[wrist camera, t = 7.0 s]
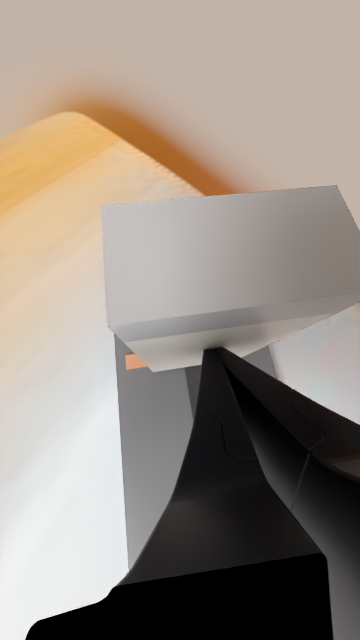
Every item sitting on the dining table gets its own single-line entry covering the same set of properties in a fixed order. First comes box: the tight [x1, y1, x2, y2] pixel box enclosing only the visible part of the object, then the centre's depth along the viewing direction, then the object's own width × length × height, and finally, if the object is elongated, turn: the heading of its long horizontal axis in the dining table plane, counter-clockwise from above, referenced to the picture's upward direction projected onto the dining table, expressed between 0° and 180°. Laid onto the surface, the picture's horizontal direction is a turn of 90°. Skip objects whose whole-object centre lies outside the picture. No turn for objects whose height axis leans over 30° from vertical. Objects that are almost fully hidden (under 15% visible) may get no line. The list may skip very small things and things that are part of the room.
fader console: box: [114, 333, 277, 570], centre depth 15 cm, size 19×11×2 cm, turn 9°
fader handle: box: [101, 185, 360, 372], centre depth 10 cm, size 3×6×11 cm, turn 99°
